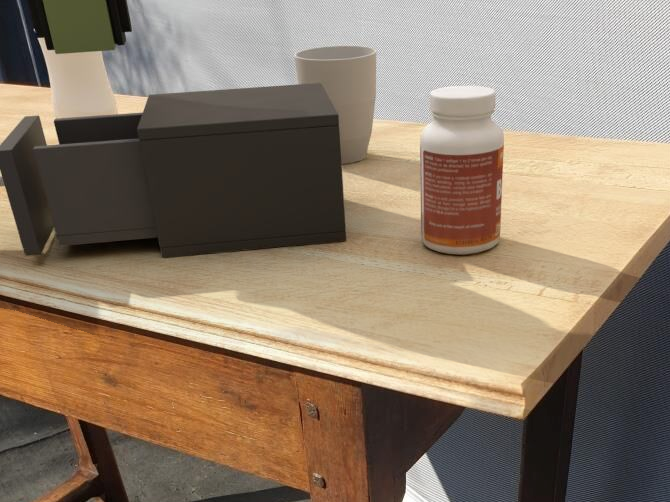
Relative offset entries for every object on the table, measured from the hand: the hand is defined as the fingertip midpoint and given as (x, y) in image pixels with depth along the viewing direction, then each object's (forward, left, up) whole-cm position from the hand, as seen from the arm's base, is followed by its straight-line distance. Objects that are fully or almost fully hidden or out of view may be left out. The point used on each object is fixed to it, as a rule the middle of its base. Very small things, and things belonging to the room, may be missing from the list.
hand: (87, 42), depth 67 cm
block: (0, 0, 0) cm, 0 cm away
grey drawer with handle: (-2, -7, -13) cm, 15 cm away
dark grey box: (+11, -7, -14) cm, 19 cm away
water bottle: (-7, +31, -14) cm, 35 cm away
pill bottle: (+27, -16, -14) cm, 35 cm away
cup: (+21, +12, -14) cm, 28 cm away
